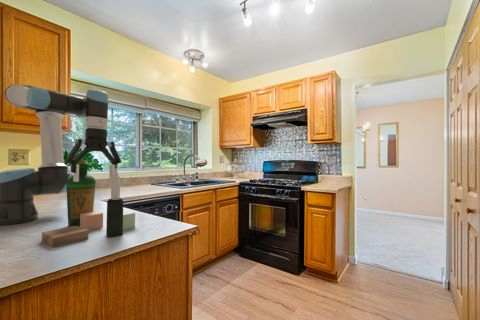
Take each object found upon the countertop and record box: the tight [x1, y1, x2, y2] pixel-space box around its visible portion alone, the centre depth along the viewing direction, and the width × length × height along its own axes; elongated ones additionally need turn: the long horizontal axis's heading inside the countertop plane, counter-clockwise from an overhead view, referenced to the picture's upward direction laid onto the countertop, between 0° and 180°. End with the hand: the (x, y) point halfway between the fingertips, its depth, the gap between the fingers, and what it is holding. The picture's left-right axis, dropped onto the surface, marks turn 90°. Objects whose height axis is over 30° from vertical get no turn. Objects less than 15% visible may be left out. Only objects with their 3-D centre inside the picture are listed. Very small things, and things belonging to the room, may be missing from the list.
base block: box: [41, 226, 90, 248], centre depth 78 cm, size 10×10×3 cm
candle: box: [105, 169, 124, 238], centre depth 84 cm, size 5×5×25 cm
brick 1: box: [80, 210, 104, 231], centre depth 92 cm, size 6×6×6 cm
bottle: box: [66, 159, 97, 227], centre depth 96 cm, size 11×11×28 cm
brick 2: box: [123, 210, 136, 230], centre depth 94 cm, size 6×6×6 cm
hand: (95, 180), depth 91 cm, fingers open, 13 cm apart
